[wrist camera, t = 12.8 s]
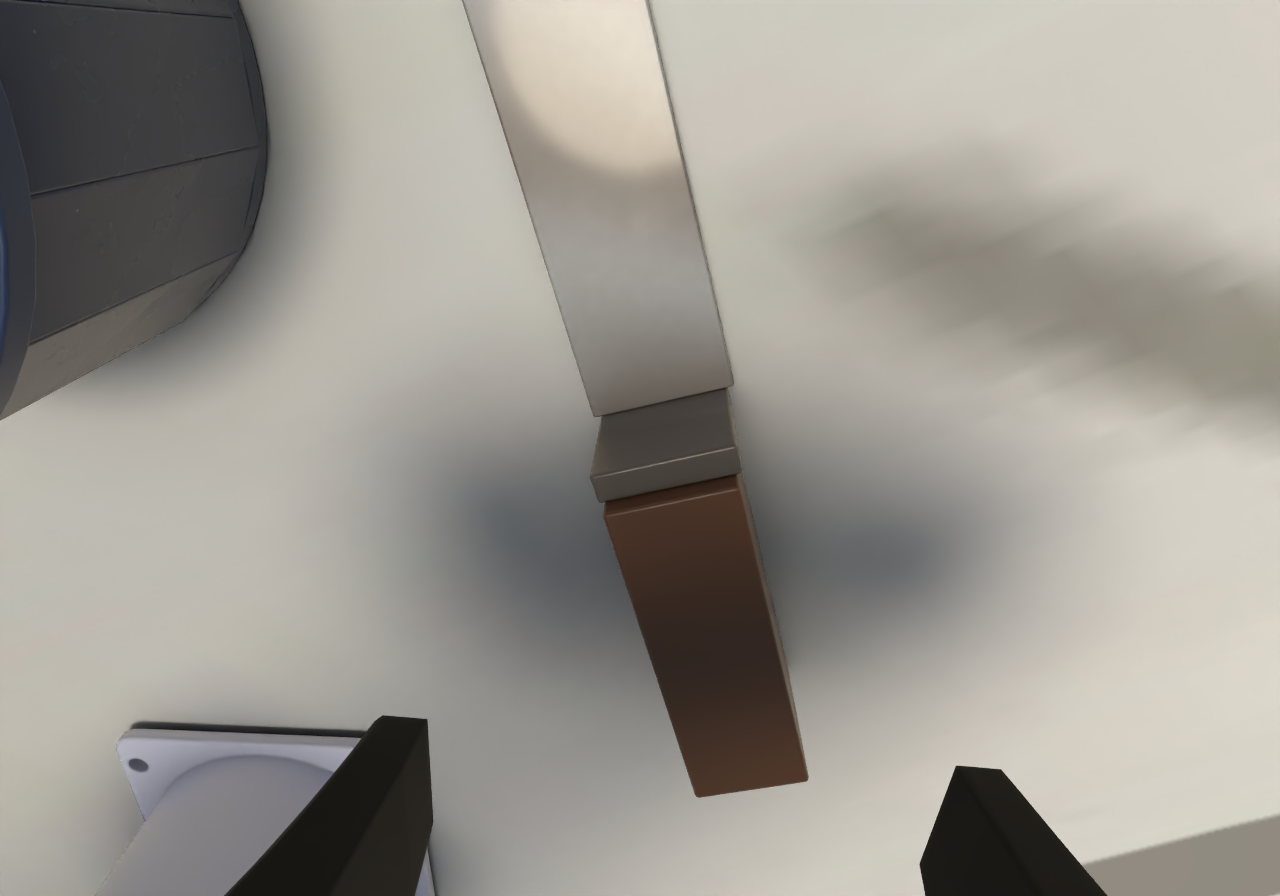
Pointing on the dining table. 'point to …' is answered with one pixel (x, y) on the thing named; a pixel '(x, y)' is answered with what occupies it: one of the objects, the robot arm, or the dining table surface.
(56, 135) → the pot
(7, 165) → the pot lid
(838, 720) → the dining table surface
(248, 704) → the dining table surface
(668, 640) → the knife
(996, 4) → the dining table surface
